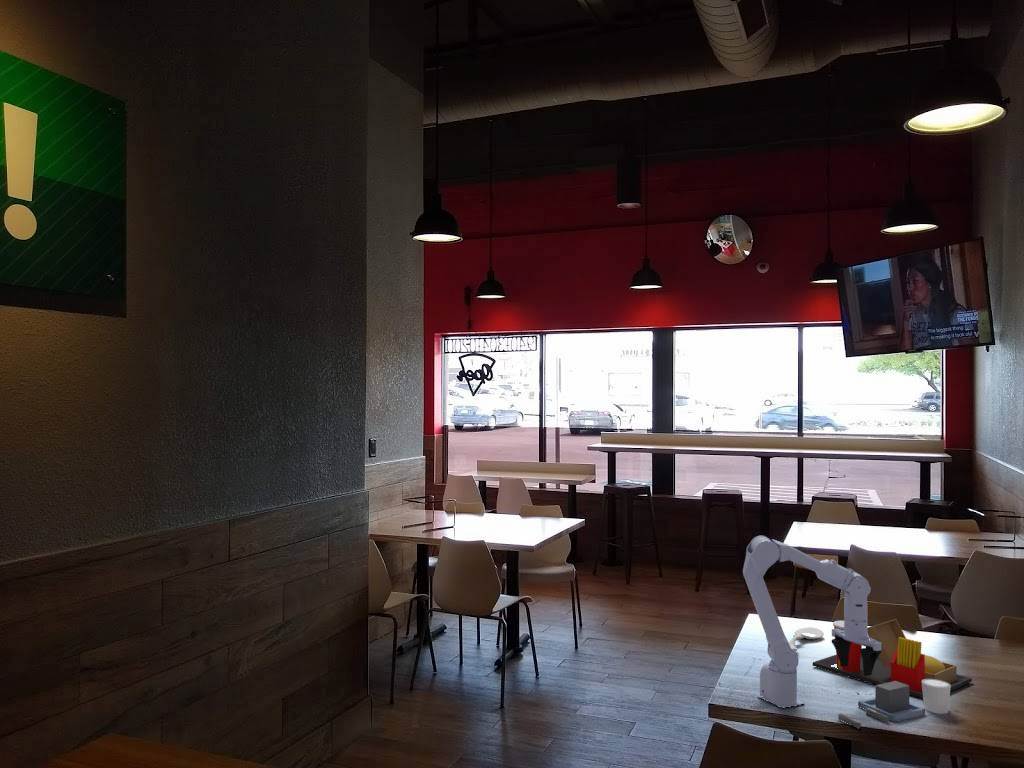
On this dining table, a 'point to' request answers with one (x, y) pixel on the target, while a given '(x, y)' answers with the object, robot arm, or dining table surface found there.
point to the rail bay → (868, 711)
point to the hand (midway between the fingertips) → (855, 670)
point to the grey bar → (892, 697)
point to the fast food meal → (895, 661)
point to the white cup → (936, 695)
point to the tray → (901, 715)
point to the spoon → (805, 630)
